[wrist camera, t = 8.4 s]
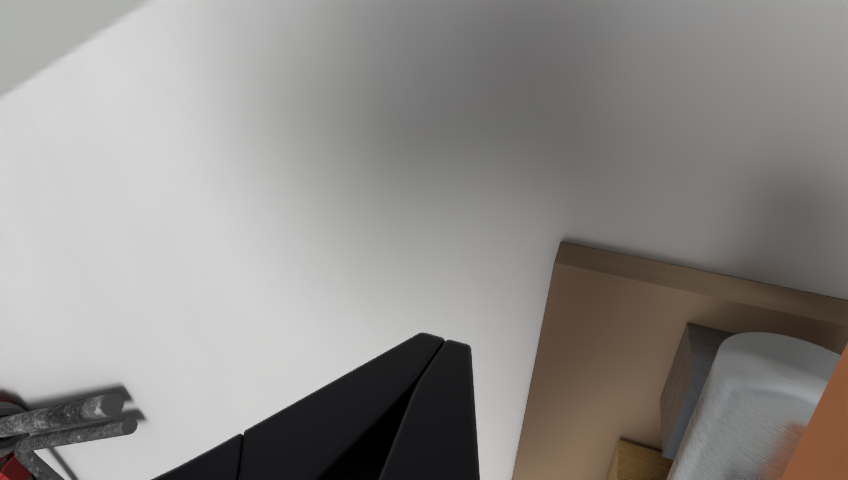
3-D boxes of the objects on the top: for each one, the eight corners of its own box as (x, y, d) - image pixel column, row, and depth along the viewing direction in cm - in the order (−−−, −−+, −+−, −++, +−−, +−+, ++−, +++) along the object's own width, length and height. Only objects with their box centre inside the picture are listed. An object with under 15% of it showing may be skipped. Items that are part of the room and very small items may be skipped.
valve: (39, 490, 47) (-98, 374, 42) (244, 472, 36) (97, 309, 30) (-27, 562, 42) (-194, 441, 36) (188, 567, 31) (-3, 394, 25)
